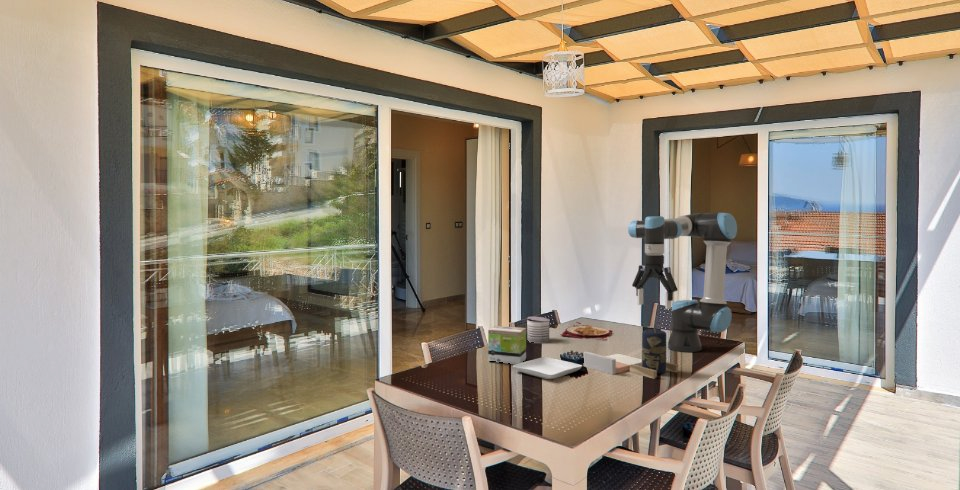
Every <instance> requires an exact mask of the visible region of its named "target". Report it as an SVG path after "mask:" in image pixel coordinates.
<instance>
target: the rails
mask: <svg viewBox="0 0 960 490" xmlns="http://www.w3.org/2000/svg"><path fill="white" fill-rule="evenodd" d="M666 371H669V372H673V373H678V372H679V364H677V363H673V362H669V361H666ZM629 373H632V374H635V375H638V376H643V377H646V378H650V379H653V380H656V379H657V376H658V374H657V371H656V370H652V369H648V368H645V367H641V366H637V365H633V364H631V365H630V370H629Z"/></svg>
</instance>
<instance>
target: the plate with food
mask: <svg viewBox="0 0 960 490" xmlns="http://www.w3.org/2000/svg"><path fill="white" fill-rule="evenodd" d="M575 324H577V325H575ZM575 324H573V326H569V327H567V328H566V329H565V331H563V332H562V333H560V334H559V336H564V337H569V338H580V339H587V340H588V339H594V340H602V341H607V340H608V338H610V337H612V334H613V333H614V332H613V330H611V329H607V328H603V327H599V326H592V325H589V324H588V325H585V324H582V323H581V322H578V321H575ZM607 337H608V338H607Z"/></svg>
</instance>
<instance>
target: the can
mask: <svg viewBox="0 0 960 490" xmlns="http://www.w3.org/2000/svg"><path fill="white" fill-rule="evenodd" d="M526 322H527V323H526V324H527V326H526V341H527V340H528V341H529V343H531V342H534V343H533V344H546V343H549V342H550V318H546V317H542V316H541V317H540V316H528V317H527V318H526ZM528 341H527V342H528Z"/></svg>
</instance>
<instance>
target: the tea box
mask: <svg viewBox="0 0 960 490" xmlns="http://www.w3.org/2000/svg"><path fill="white" fill-rule="evenodd" d="M487 331H488V332H487V333H488V335H487V353H488V357H487V359H488V362H489V361H496V362H495V363H499V362H503V363H502V364H508V363H510V364H509V365H516V364H520V363H523V361H524V362H526V359H527V327H517V326H505V325H504V326H503V325H493V326H492V327H490V329H488V330H487Z"/></svg>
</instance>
